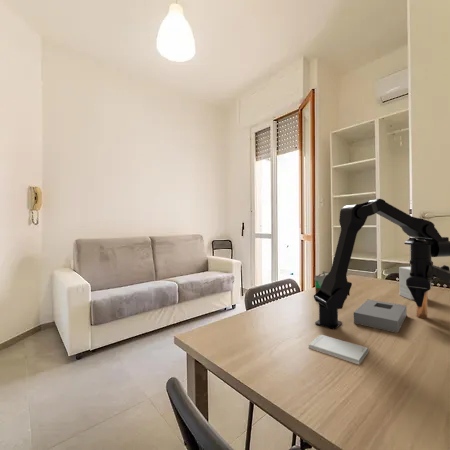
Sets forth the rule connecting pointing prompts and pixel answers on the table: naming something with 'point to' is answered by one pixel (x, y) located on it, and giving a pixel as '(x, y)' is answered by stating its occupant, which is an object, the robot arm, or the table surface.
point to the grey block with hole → (381, 315)
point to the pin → (422, 308)
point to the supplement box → (403, 275)
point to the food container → (320, 280)
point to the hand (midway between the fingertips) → (421, 303)
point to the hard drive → (339, 348)
